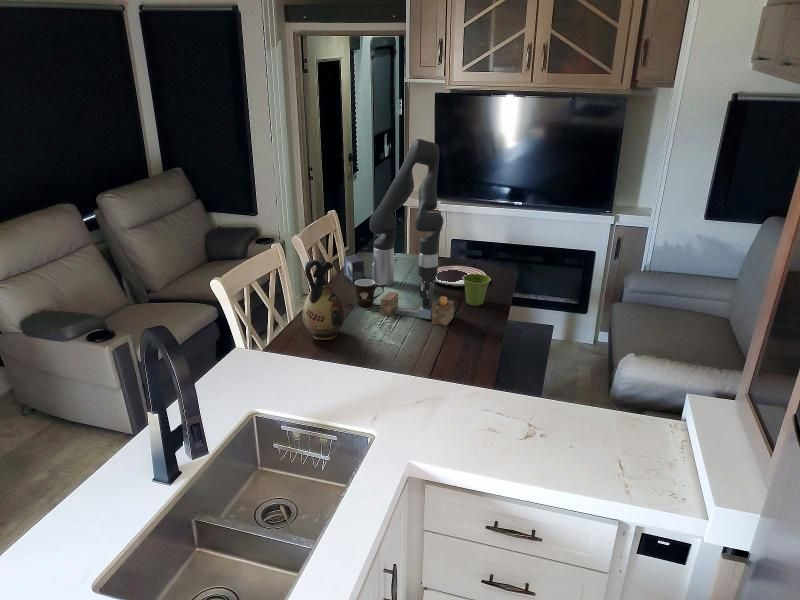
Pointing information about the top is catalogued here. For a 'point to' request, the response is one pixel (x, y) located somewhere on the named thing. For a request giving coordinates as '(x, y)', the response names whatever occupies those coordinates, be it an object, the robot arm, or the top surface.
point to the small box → (353, 267)
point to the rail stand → (439, 313)
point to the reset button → (443, 301)
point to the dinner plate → (459, 268)
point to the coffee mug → (366, 292)
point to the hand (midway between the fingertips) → (427, 304)
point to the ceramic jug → (322, 304)
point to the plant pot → (475, 288)
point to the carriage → (426, 309)
